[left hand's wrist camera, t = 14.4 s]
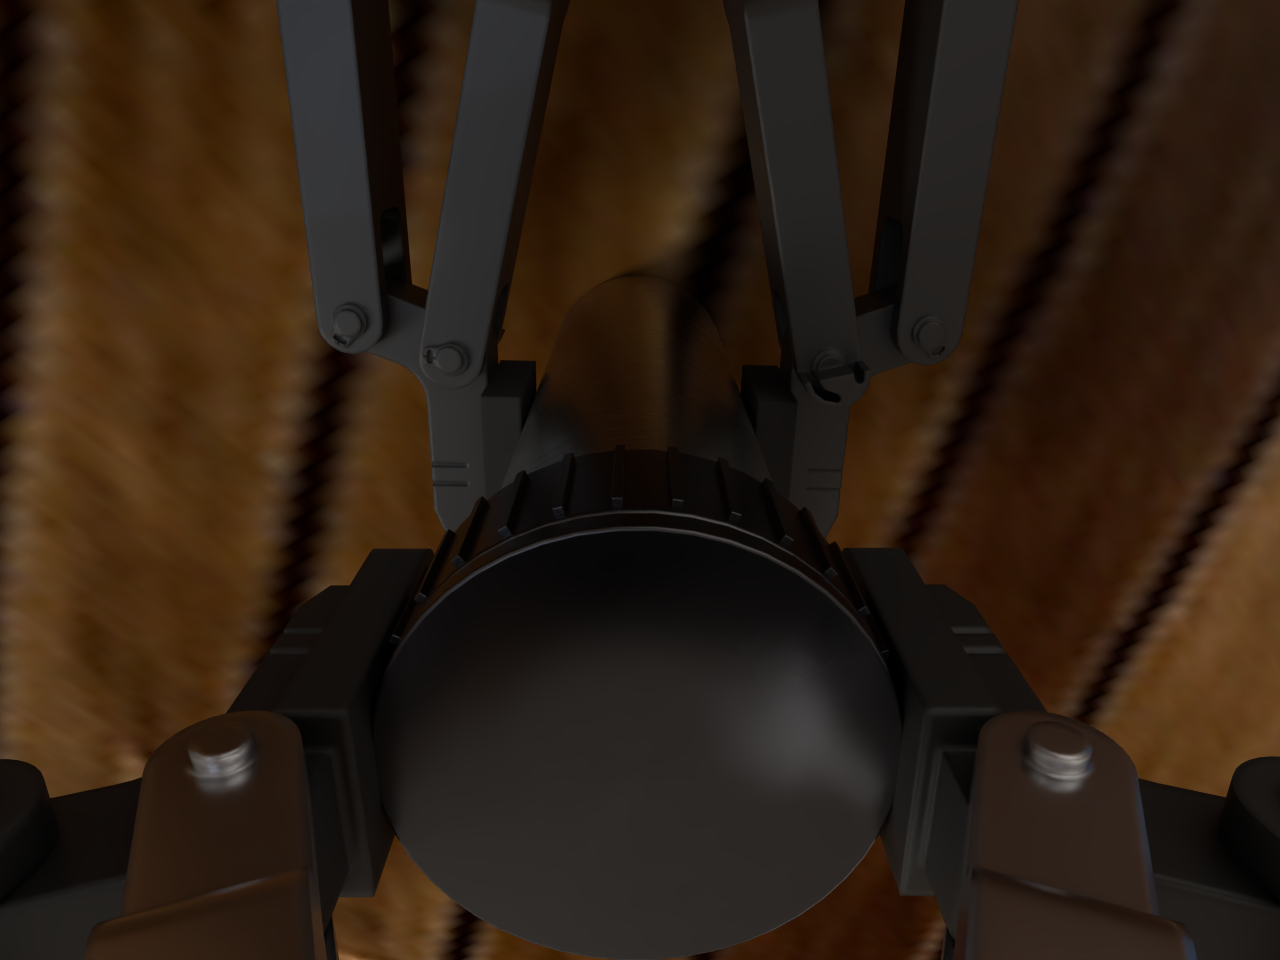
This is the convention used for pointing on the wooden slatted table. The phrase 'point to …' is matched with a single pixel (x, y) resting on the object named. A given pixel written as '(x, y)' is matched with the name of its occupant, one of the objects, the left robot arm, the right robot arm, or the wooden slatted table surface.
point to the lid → (637, 710)
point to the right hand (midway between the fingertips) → (633, 653)
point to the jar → (638, 382)
